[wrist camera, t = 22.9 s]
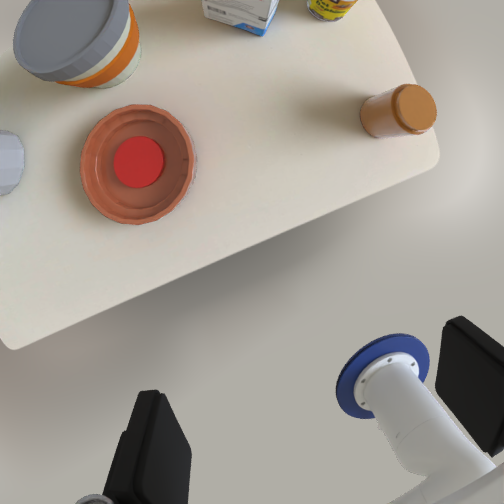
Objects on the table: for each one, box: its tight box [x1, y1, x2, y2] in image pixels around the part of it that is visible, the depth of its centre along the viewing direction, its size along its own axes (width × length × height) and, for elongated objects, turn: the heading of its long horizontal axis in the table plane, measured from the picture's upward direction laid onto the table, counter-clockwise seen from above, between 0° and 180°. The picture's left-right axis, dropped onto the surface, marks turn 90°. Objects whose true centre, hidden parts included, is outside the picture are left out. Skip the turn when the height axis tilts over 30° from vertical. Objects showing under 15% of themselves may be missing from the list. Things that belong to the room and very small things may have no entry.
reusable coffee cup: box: [13, 0, 141, 88], centre depth 27 cm, size 13×13×15 cm
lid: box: [114, 136, 165, 188], centre depth 37 cm, size 6×6×1 cm
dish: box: [80, 105, 197, 225], centre depth 36 cm, size 14×14×4 cm
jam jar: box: [360, 84, 437, 139], centre depth 34 cm, size 6×6×10 cm
